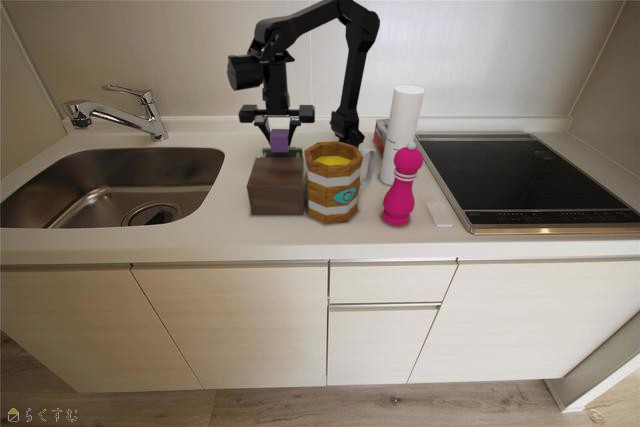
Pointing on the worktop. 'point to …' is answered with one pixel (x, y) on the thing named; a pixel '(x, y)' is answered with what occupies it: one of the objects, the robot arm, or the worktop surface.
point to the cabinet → (276, 186)
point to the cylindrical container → (400, 126)
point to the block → (279, 140)
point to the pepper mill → (402, 185)
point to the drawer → (283, 153)
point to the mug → (335, 180)
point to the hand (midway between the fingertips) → (280, 145)
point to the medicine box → (381, 134)
